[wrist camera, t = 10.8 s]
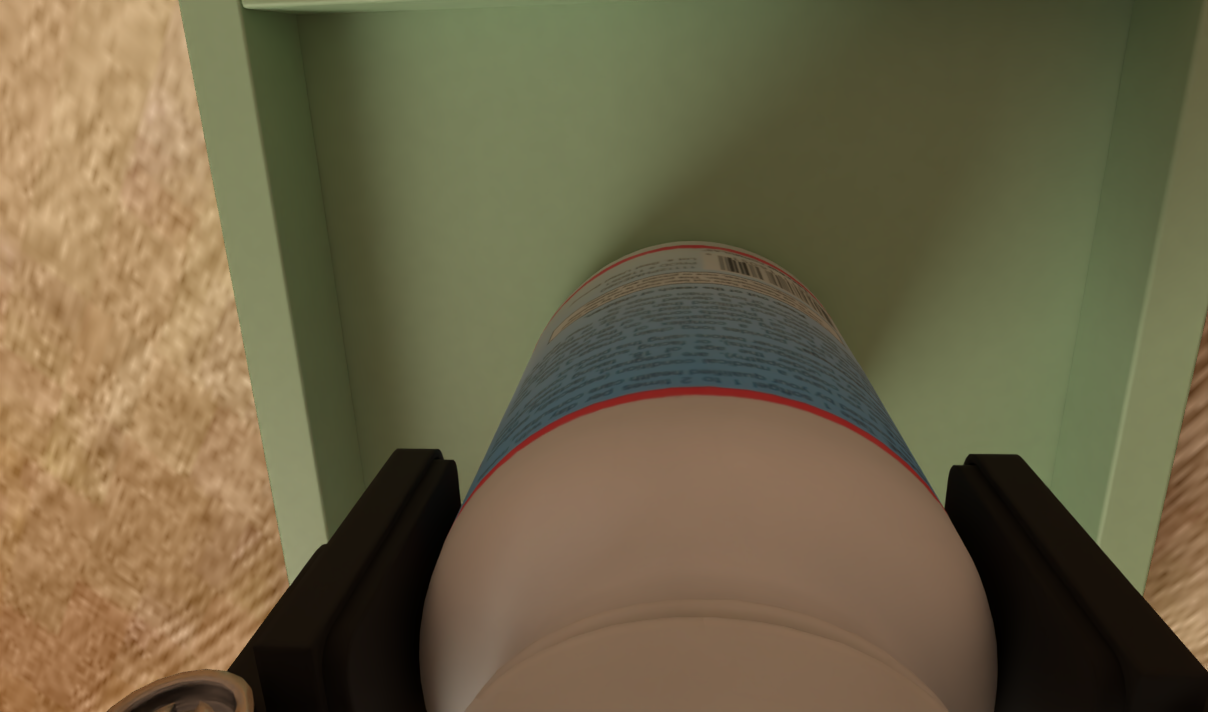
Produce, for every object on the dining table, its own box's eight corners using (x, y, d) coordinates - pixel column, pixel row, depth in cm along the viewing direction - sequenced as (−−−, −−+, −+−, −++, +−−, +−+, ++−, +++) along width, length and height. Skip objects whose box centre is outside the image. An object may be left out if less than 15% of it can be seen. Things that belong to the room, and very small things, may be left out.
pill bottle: (474, 345, 16) (102, 870, 6) (739, 170, 15) (895, 448, 4) (645, 568, 18) (595, 1315, 7) (903, 430, 16) (1328, 1128, 6)
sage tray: (363, 680, 20) (321, 762, 18) (247, -42, 15) (165, -61, 12) (1046, 705, 19) (1099, 798, 16) (1196, -86, 13) (1307, -117, 11)
